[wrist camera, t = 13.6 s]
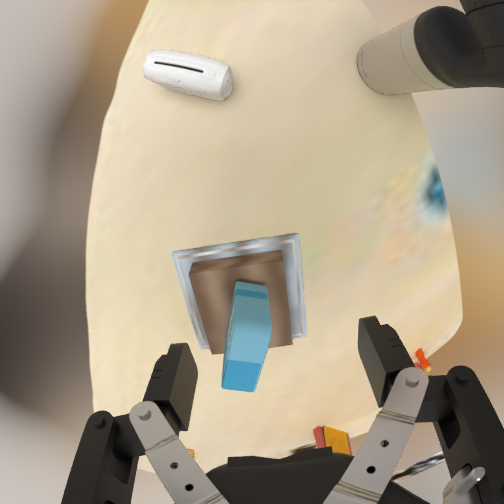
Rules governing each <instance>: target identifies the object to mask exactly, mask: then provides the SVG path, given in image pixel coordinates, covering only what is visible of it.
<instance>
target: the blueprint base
mask: <svg viewBox="0 0 504 504" xmlns="http://www.w3.org/2000/svg"><path fill="white" fill-rule="evenodd" d="M172 257H173V260H174V264H175V267H176V271H177V275H178V278H179V282H180V285H181V288H182V292H183V295H184V298H185V302H186V305H187V308H188V312H189V315H190V318H191V321H192V324H193V327H194V330H195V333H196V337H197V340H198V343H199V346H200V349H210V350H211V353H212V354H222V353H224V348H225V338H226V332H227V326H228V321H229V316H230V310H231V305H232V299H233V294H234V289H235V284H236V282H237V281H240V282H246V283H253V284H259V285H265V286H267V290H268V298H269V307H270V315H271V323H272V333H271V339H270V343H269V346H268V348H273V347H280V346H286V345H293V343H292V338H298V337H304V336H307V332H306V317H305V304H304V291H303V279H302V267H301V256H300V246H299V236H298V233H294V234H287V235H281V236H274V237H267V238H260V239H253V240H247V241H240V242H233V243H227V244H220V245H214V246H207V247H201V248H194V249H188V250H181V251H175V252H172Z"/></svg>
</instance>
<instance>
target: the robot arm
mask: <svg viewBox="0 0 504 504" xmlns="http://www.w3.org/2000/svg"><path fill="white" fill-rule="evenodd" d="M460 2H461V4H462V7H463V9H464V11H465V13H466V14H464V13H463V12H461V11H459V10H457V9H455V8H452V7H448V6H438V7H434V8H431V9H429V10H427V11H426V12H423V13H422V14H420V15H418V16H416V17H414V18H412V19H410V20H408V21H406V22H405V23H403V24H401V25H399V26H397V27H395V28H393V29H392V30H390V31H388V32H386V33H384V34H382V35H381V36H379V37H377V38H375V39H374V40H372V41H370V42H369V43H367V44H366V45H364V46H363V47H362V49H361V50H360V52H359V54H358V59H357V65H358V70H359V73H360V75H361V77H362V79H363V80H364V82H365V83H366V84H367V85H368V86H369V87H370V88H371V89H373V90H374V91H376V92H378V93H380V94H384V95H396V94H404V93H412V92H420V91H431V90H442V89H453V88H468V87H500V88H504V0H460ZM358 350H359V355H360V358H361V360H362V363H363V366H364V368H365V371H366V373H367V376H368V379H369V382H370V384H371V387H372V390H373V393H374V395H375V398H376V401H377V404H378V407H379V408H381V407H383V408H382V410H381V411H379V413H378V414H377V416H376V418H375V420H374V422H373V424H372V426H371V428H370V430H369V432H368V434H367V436H366V437H365V439H364V441H363V443H362V445H361V447H360V448H359V450H358V452H357V453H356V455H355V456H352V455H349V454H345V453H339V452H333V451H332V446H328V447H323V448H317V449H311V450H305V451H303V452H300V453H297V454H294V455H291V456H288V457H285V458H282V459H272V458H264V457H257V456H243V457H228V463H227V464H224V465H221V466H219V467H216V468H214V469H212V470H211V471H209V472H208V473H206V474H205V473H204V472H203V470H202V469H201V468H200V467H199V465H198V464H197V463H196V461H195V460H194V459H193V457H192V456H191V455H190V453H189V452H188V450H187V449H186V448H185V446H184V445H183V443H182V442H181V441H180V439H179V438H178V436H179V431H188V427H189V421H190V415H191V410H192V405H193V399H194V394H195V388H196V383H197V378H198V370H197V366H196V363H195V360H194V358H193V356H192V353H191V351H190V348H189V346H188V344H187V343H176V344H171V345H170V347H169V350H168V353H167V355H162V356H161V357H160V358H159V359H158V360H157V362H156V363H155V366H154V369H153V372H152V375H151V379H150V381H149V384H148V387H147V390H146V392H145V395H144V398H143V401H142V402H140V403H138V404H136V405H135V406H134V407H133V408H132V409H131V411H130V413H129V414H125V415H121V416H116V417H113V416H112V415H111V414H110V413H109V412H107V411H98V412H96V413H94V414H92V415H91V416H90V418H89V419H88V421H87V423H86V426H85V429H84V432H83V435H82V437H81V441H80V443H79V446H78V449H77V452H76V455H75V458H74V461H73V465H72V468H71V471H70V474H69V478H68V481H67V485H66V488H65V491H64V495H63V498H62V502H61V504H131V498H132V492H133V487H134V481H135V475H136V470H137V465H138V460H139V456H142V455H146V456H147V458H148V460H149V461H150V463H151V465H152V467H153V468H154V470H155V472H156V474H157V475H158V477H159V478H160V480H161V482H162V483H163V485H164V487H165V488H166V490H167V491H168V493H169V494H170V496H171V497H172V499H173V501H174V502H175V503H174V504H430V503H428V502H427V501H424V500H423V499H421V498H420V497H418V496H416V495H415V494H412V493H411V492H410V491H408V490H406V489H405V488H403V487H401V486H400V485H398V484H397V483H395V482H394V481H392V480H390V478H391V476H392V474H393V472H394V470H395V468H396V466H397V464H398V462H399V459H400V457H401V455H402V453H403V451H404V448H405V446H406V444H407V441H408V439H409V436H410V434H411V431H412V429H413V426H414V423H417V422H433V424H434V427H435V430H436V433H437V436H438V438H439V441H440V444H441V447H442V450H443V453H444V457H445V460H446V463H447V466H448V469H449V473H450V476H451V480H450V481H449V482H448V484H447V485H446V486H445V488H444V491H443V504H504V428H503V426H502V424H501V422H500V420H499V418H498V416H497V414H496V412H495V410H494V408H493V406H492V404H491V402H490V400H489V398H488V396H487V394H486V393H485V391H484V389H483V387H482V385H481V384H480V381H479V380H478V378H477V376H476V374H475V373H474V371H472V369H470V368H468V367H466V366H455V367H453V368H452V369H450V370H449V372H448V373H447V375H441V376H430V375H427V374H426V372H424V371H423V370H422V369H419V368H416V367H415V365H414V363H413V361H412V359H411V357H410V356H409V354H408V352H407V350H406V348H405V347H404V345H403V343H402V341H401V339H399V336H398V334H397V332H396V331H395V329H393V328H392V327H391V326H389V325H388V324H384V325H380V323H379V321H378V319H377V317H376V316H370V317H365V318H361V319H359V329H358Z"/></svg>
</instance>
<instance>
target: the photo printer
mask: <svg viewBox="0 0 504 504" xmlns="http://www.w3.org/2000/svg"><path fill="white" fill-rule="evenodd" d="M143 75H144V77H145V78H146V79H149V80H151V81H153V82H155V83H157V84H160V85H162V86H164V87H166V88H168V89H171V90H175V91H179V92H183V93H187V94H191V95H195V96H199V97H204V98H208V99H213V100H218V101H225V98H227V97H228V96H229V95H230V94H231V92H232V89H233V85H232V74H231V69H230V66H228V65H227V64H225V63H223V62H220V61H218V60H215V59H211V58H208V57H204V56H201V55H196V54H192V53H187V52H181V51H174V50H163V49H162V50H161V49H160V50H152V51H151V52H150V53H149V54H148V55H147V57H146V61H145V63H144V65H143Z"/></svg>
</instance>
